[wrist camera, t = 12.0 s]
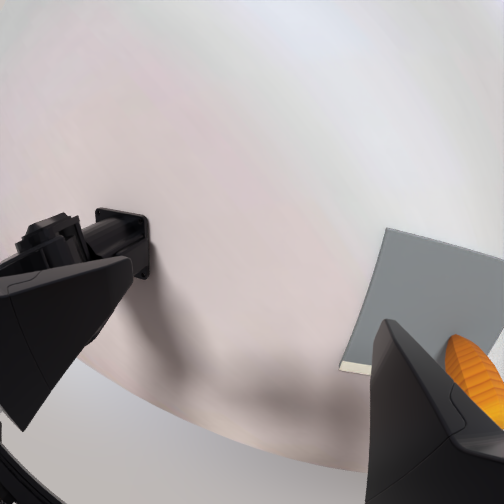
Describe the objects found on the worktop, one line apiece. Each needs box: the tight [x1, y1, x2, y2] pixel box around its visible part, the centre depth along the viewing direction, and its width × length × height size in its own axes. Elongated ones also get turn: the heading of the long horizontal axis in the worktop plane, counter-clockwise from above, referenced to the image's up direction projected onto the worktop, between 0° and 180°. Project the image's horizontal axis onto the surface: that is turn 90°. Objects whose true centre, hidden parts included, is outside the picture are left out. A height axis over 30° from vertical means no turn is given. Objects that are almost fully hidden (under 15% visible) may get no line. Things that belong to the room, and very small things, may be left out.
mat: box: [339, 228, 504, 375], centre depth 20 cm, size 16×14×1 cm
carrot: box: [445, 334, 504, 430], centre depth 13 cm, size 5×5×15 cm
